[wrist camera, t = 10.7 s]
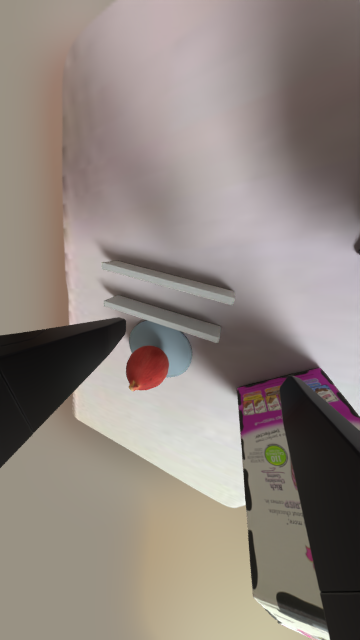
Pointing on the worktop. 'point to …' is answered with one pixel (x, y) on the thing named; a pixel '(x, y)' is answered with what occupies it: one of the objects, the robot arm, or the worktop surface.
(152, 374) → the onion
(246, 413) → the candy bar box
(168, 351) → the mat
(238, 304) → the worktop surface
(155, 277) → the low walls
